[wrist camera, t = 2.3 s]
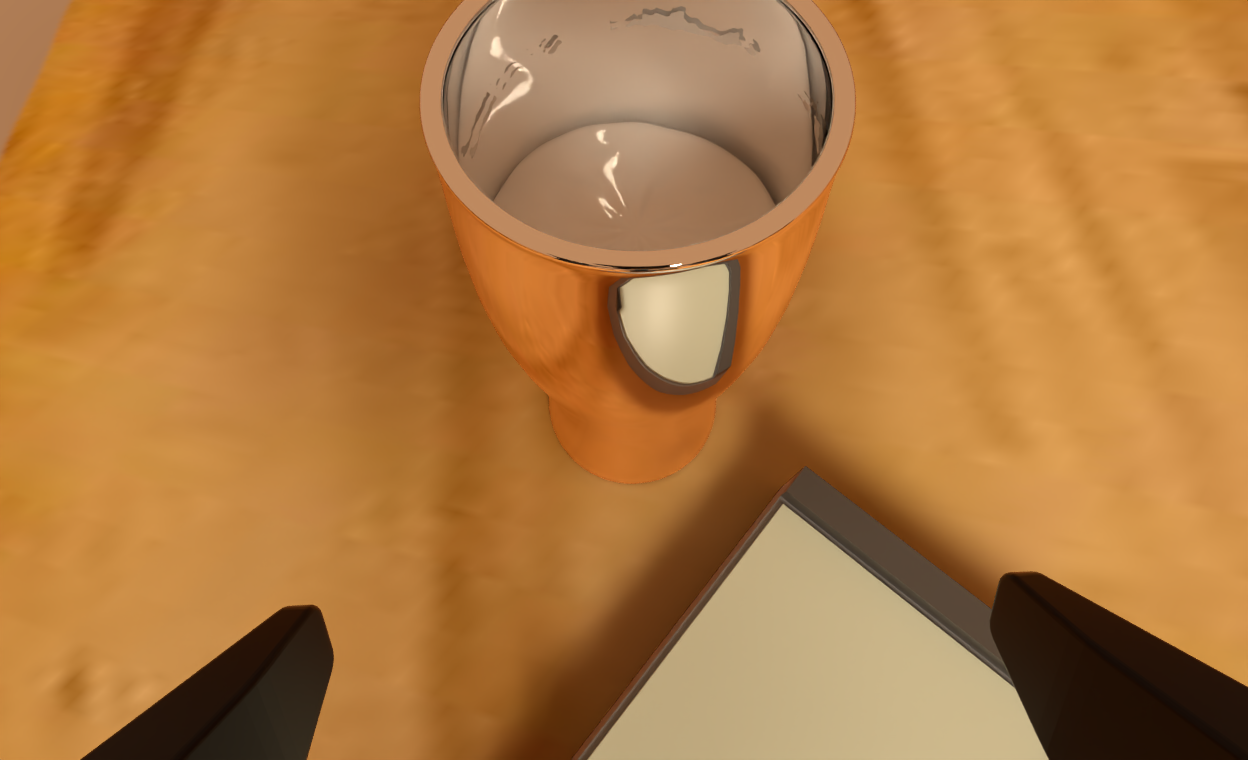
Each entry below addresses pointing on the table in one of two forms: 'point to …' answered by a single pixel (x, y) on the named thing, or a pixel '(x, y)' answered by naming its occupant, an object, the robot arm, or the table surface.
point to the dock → (822, 654)
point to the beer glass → (636, 198)
